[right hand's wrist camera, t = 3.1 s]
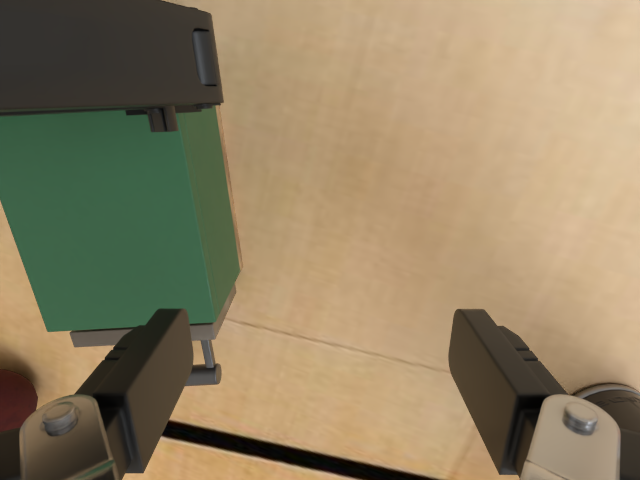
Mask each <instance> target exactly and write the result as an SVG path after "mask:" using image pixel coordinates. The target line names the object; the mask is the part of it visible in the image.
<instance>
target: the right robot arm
mask: <svg viewBox="0 0 640 480" xmlns="http://www.w3.org/2000/svg"><path fill="white" fill-rule="evenodd" d="M192 366H193V347H192V339H191V332H190V325H189V317H188V313H187V310H186V309H184V308H160V309H158V310H157V311H156V312H155V313H154V314H153V316H152V317H151V318H150V320H149V321H148V322H147V323H146V325H139V326H137V327H136V328H134V329H133V330H131V331H130V332H128V333H127V334H125V335H123V337H122V338H121V339H120V340H119V341H118V343H117V344H116V345H115V346H114V347H113V350H111V351H110V352H109V353H108V355H107V356H106V357H105V360H103V361H102V362H101V363H100V364H99V365H98V367H97V368H96V369H95V370H94V371H93V373H92V374H91V375H90V376H89V377H88V379H87V380H86V381H85V382H84V383H83V385H82V386H81V387H80V388H79V389H78V391H77V392H76V393H75V394H74V395H69V396H65V397H62V398H58V399H56V400H53V401H51V402H49V403H47V404H45V405H44V406H42V407H40V408H39V409H37V410H36V411H35V412H33V413H32V414H31V415H30V416H29V417H28V418H27V419H26V420H25V422H24V423H23V425H22V426H21V427H20V428H15V429H11V430H7V431H2V432H0V480H122V478H123V476H124V475H125V473H144V471H145V469H146V467H147V465H148V462H149V460H150V458H151V456H152V454H153V452H154V450H155V448H156V446H157V443H158V441H159V439H160V437H161V435H162V433H163V431H164V429H165V427H166V424H167V422H168V420H169V418H170V416H171V414H172V412H173V410H174V407H175V405H176V403H177V401H178V399H179V397H180V395H181V393H182V391H183V388H184V386H185V384H186V382H187V380H188V378H189V376H190V373H191V370H192ZM449 367H450V371H451V374H452V377H453V379H454V381H455V383H456V385H457V387H458V389H459V391H460V393H461V395H462V397H463V400H464V402H465V404H466V406H467V408H468V410H469V412H470V414H471V416H472V418H473V420H474V423H475V425H476V427H477V429H478V431H479V433H480V435H481V437H482V439H483V441H484V443H485V446H486V448H487V450H488V452H489V454H490V456H491V458H492V460H493V462H494V464H495V466H496V468H497V471H498V473H499V475H518V476H519V478H520V480H640V393H639V392H638V391H637V390H635V389H633V388H631V387H628V386H625V385H619V384H604V385H598V386H594V387H591V388H588V389H585V390H583V391H581V392H579V393H577V394H575V395H574V396H571V395H568V394H567V393H566V391H565V390H564V389H563V388H562V387H561V386H560V384H559V383H558V382H557V381H556V380H555V378H554V377H553V376H552V375H551V374H550V372H549V371H548V370H547V369H546V368H545V367H544V365H543V364H542V363H541V362H540V361H538V358H537V357H536V356H535V355H534V353H533V352H532V351H529V348H528V346H527V345H526V344H525V343H524V342H523V340H522V339H521V338H520V337H519V336H518V335H516V334H515V333H513V332H512V331H510V330H509V329H507V328H506V327H504V326H497V325H496V324H495V322H494V321H493V320H492V319H491V317H490V316H489V315H488V314H487V312H486V311H485V310H484V309H457V310H456V311H455V313H454V318H453V325H452V333H451V340H450V347H449Z"/></svg>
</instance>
